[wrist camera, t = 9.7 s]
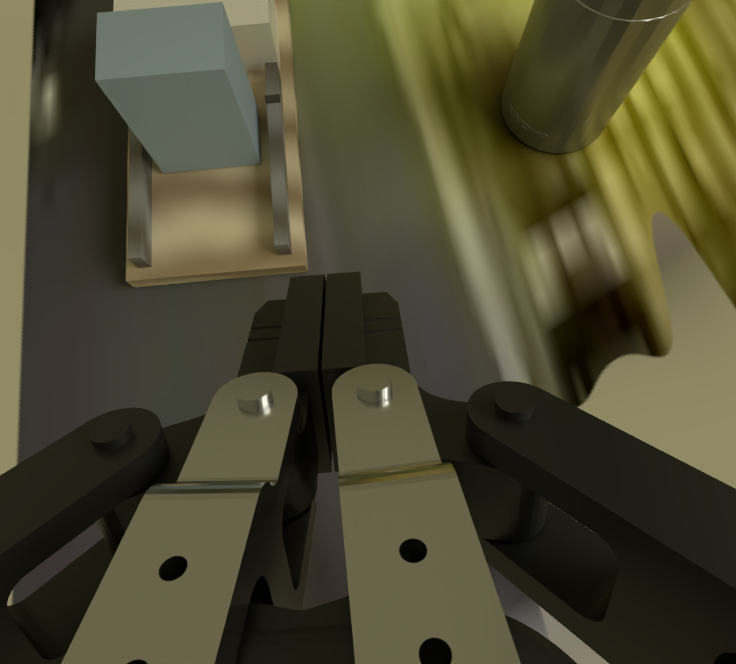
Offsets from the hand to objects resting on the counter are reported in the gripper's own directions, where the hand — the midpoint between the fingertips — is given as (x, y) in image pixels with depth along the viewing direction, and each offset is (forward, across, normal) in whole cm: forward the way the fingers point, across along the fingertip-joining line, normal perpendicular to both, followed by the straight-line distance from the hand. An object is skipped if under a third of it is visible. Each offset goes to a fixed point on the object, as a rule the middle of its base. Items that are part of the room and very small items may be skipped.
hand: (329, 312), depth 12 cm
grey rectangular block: (+36, +11, +4) cm, 38 cm away
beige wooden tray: (+39, +11, +4) cm, 40 cm away
